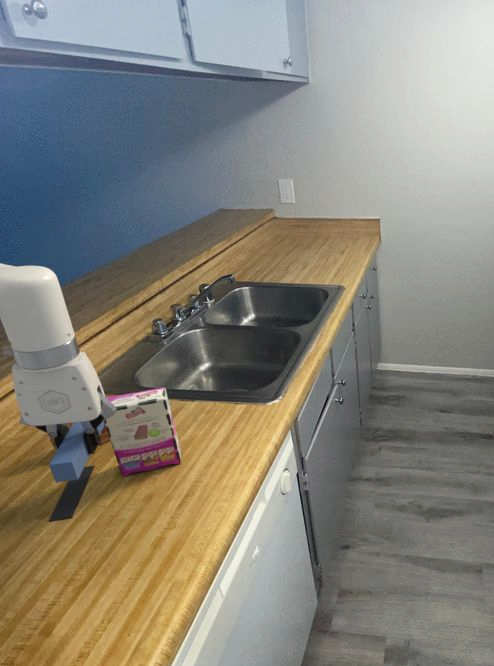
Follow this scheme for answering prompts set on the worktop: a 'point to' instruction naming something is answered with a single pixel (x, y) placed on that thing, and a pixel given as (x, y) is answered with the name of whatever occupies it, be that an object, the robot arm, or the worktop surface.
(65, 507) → the strip
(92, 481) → the worktop surface
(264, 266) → the worktop surface
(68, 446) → the stick
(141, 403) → the candy bar box
